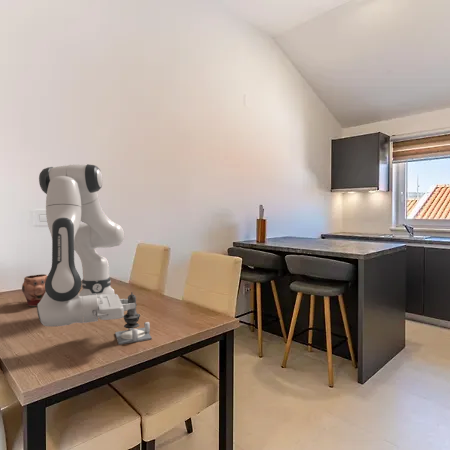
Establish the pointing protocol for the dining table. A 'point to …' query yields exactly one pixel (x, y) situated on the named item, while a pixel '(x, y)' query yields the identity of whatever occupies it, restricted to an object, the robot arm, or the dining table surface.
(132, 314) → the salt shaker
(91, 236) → the robot arm
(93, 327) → the dining table surface
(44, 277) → the decorative planter
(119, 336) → the pin socket board
